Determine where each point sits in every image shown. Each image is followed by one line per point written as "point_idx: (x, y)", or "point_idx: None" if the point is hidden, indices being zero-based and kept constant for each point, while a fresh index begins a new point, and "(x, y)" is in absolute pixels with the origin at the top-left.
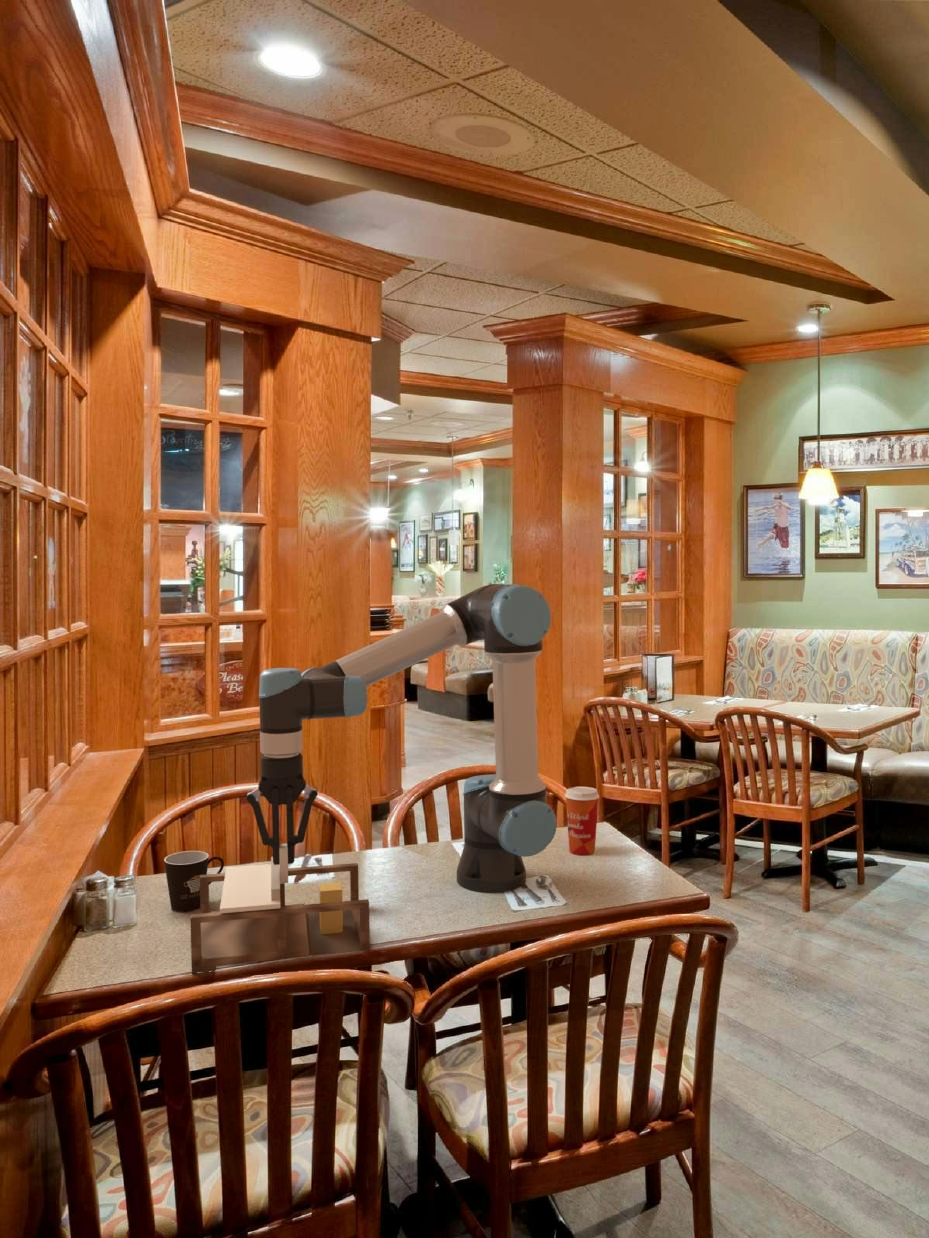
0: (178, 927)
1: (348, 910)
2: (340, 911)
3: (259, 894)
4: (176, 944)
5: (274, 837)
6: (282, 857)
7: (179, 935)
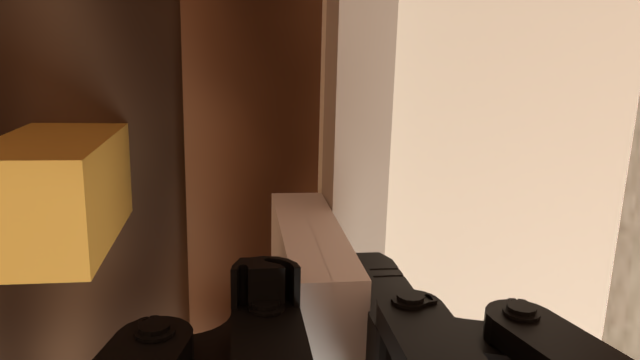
0: (614, 336)
1: (8, 341)
2: (6, 138)
3: (444, 55)
4: (628, 203)
5: (451, 339)
6: (329, 251)
7: (615, 273)
